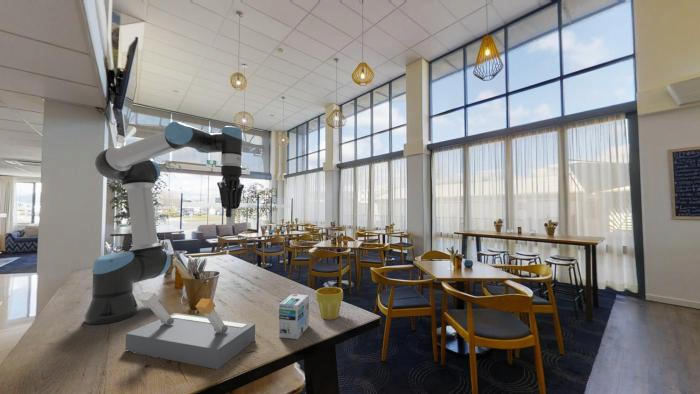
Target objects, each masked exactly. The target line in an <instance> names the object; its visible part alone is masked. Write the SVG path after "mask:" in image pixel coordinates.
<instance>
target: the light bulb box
mask: <svg viewBox="0 0 700 394" xmlns="http://www.w3.org/2000/svg"><path fill="white" fill-rule="evenodd" d="M278 308H279V310H278V338H284V339H293V340H299V338H300V337H301V336H302V334H303V333H304V332H305V331H306V330H307V328H309V324H310V295H307V294H298V293H297V294H296V293H292V294H290V295H289V296H288V297H285V299H284V300H282V301H280V303H279V304H278Z"/></svg>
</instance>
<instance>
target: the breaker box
mask: <svg viewBox="0 0 700 394" xmlns="http://www.w3.org/2000/svg"><path fill="white" fill-rule="evenodd" d="M169 315H170V316H171V318H173V319H174V322H173V323H172V324H164V323H161V320H160V319H159V318H158V319H157V320H155V321H152V322H150V323H148V324H145V325H143V326H140V327H138V328H136V329H133V330H131V331H128V332H126V333H125V350H128V351H132V352H135V353H134V354H137V353H138V354H139V355H141V356H142V355H144V356H148V357H153V356H156V357H155V358H158V357H160V358H159V359H163V358H164V359H163V360H168V361H174V362H180V363H184V364H188V365H195V366H199V367H203V368H207V369H209V368H210V369H214V370H218V369H221V367H222V366H224V365H225V364H226V363H228V362H229V361H230V360H231V359H233V358H234V357H235V356H236V355H238V354H239V353H241V352H242V351H243V350H245V348H247V347H249V345H251V344H252V343H254V342H255V341H256V323H252V322H251V323H250V322H245V321H244V322H243V321H236V320H230V319H223V318H221V320H222V321H223V323H224V324H225V326H227V327H228V329H227V331H226V332H225V333H223V332H216V331H214V327H213V326H212V324H211V323H210V322H209V320H208V319H207V317H206V316H200V315H192V314H186V313H185V314H184V313H178V312H173V313H172V314H169ZM132 352H131V353H132Z"/></svg>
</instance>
